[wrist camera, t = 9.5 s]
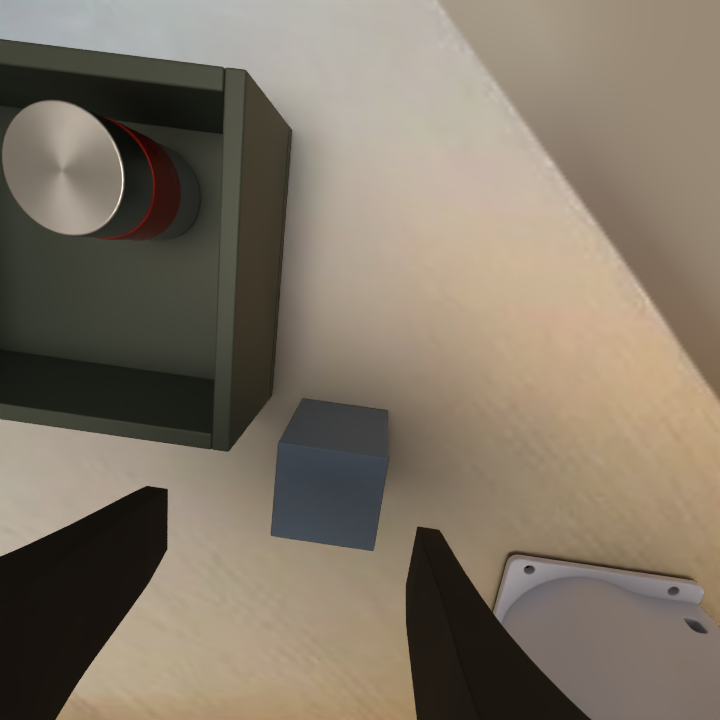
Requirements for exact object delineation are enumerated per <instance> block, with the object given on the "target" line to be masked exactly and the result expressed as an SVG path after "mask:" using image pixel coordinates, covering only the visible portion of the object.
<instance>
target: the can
mask: <svg viewBox="0 0 720 720" xmlns="http://www.w3.org/2000/svg"><path fill="white" fill-rule="evenodd" d="M2 166H3V172H4V176H5V179H6V182H7V185H8V187H9V190H10V191H11V193H12V195H13V197H14V199H15V200H16V202H17V203H18V205H19V206H20V207H21V208H22V210H23V211H24V212H25V213H26V214H27V215H28V216H29V217H30V218H31V219H33V220H34V221H35V222H36V223H38V224H39V225H41V226H42V227H44V228H46V229H48V230H50V231H52V232H54V233H57V234H60V235H65V236H74V237H94V238H99V239H107V240H132V241H141V240H169V239H173V238H176V237H178V236H180V235H182V234H183V233H185V232H186V231H187V230H188V229H189V228H190V227H191V225H192V224H193V223H194V221H195V219H196V217H197V214H198V211H199V207H200V190H199V185H198V181H197V179H196V176H195V174H194V172H193V170H192V168H191V167H190V166H189V164H188V163H187V162H186V161H185V160H184V158H183V157H181V156H180V155H179V154H178V153H176V152H175V151H173V150H172V149H170V148H168V147H165V146H163V145H161V144H159V143H157V142H155V141H154V140H152V139H151V138H149V137H148V136H146V135H144V134H142V133H139V132H137V131H135V130H133V129H131V128H129V127H127V126H125V125H123V124H121V123H119V122H117V121H115V120H112V119H110V118H107V117H103V116H100V115H98V114H96V113H94V112H92V111H90V110H87V109H85V108H83V107H81V106H79V105H77V104H74V103H71V102H69V101H64V100H56V99H49V100H41V101H38V102H34V103H32V104H30V105H28V106H26V107H25V108H23V109H22V110H20V111H19V112H18V113H17V114H16V115H15V117H14V118H13V119H12V121H11V122H10V124H9V126H8V128H7V130H6V133H5V135H4V139H3V144H2Z"/></svg>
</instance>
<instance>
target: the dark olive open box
mask: <svg viewBox="0 0 720 720" xmlns="http://www.w3.org/2000/svg"><path fill="white" fill-rule="evenodd" d="M49 99H56V100H64V101H69V102H71V103H74V104H77V105H79V106H81V107H83V108H85V109H87V110H90V111H92V112H94V113H96V114H98V115H100V116H103V117H107V118H110V119H112V120H115V121H117V122H119V123H121V124H123V125H125V126H127V127H129V128H131V129H133V130H135V131H137V132H139V133H142V134H144V135H146V136H148V137H149V138H151V139H152V140H154V141H155V142H157V143H159V144H161V145H163V146H165V147H168V148H170V149H172V150H173V151H175V152H176V153H178V154H179V155H180V156H181V157H183V158H184V160H185V161H186V162H187V163H188V164H189V166H190V167H191V168H192V170H193V172H194V174H195V176H196V179H197V181H198V185H199V190H200V207H199V211H198V214H197V217H196V219H195V221H194V223H193V224H192V225H191V227H190V228H189V229H188V230H187V231H186V232H185V233H183V234H182V235H180V236H178V237H176V238H173V239H169V240H141V241H132V240H107V239H99V238H94V237H74V236H65V235H60V234H57V233H54V232H52V231H50V230H48V229H46V228H44V227H42V226H41V225H39V224H38V223H36V222H35V221H34V220H33V219H31V218H30V217H29V216H28V215H27V214H26V213H25V212H24V211H23V210H22V208H21V207H20V206H19V205H18V203H17V202H16V200H15V199H14V197H13V195H12V193H11V191H10V190H9V187H8V185H7V182H6V179H5V176H4V172H3V166H2V144H3V139H4V135H5V133H6V130H7V128H8V126H9V124H10V122H11V121H12V119H13V118H14V117H15V115H16V114H17V113H18V112H19V111H20V110H22V109H23V108H25V107H26V106H28V105H30V104H32V103H34V102H38V101H41V100H49ZM291 135H292V129H291V128H290V127H289V126H288V124H287V123H286V122H285V120H284V119H283V118H282V116H281V115H280V114H279V112H278V111H277V110H276V109H275V107H274V106H273V105H272V103H271V102H270V101H269V99H268V98H267V97H266V95H265V94H264V93H263V92H262V90H261V89H260V88H259V86H258V85H257V84H256V82H255V81H254V80H253V78H252V77H251V76H250V75H249V73H248V72H247V71H246V70H243V69H235V68H226V69H225V68H223V67H219V66H211V65H203V64H195V63H187V62H179V61H171V60H163V59H155V58H147V57H139V56H131V55H123V54H115V53H107V52H99V51H91V50H83V49H75V48H67V47H59V46H51V45H43V44H35V43H27V42H19V41H11V40H3V39H0V419H4V420H11V421H18V422H25V423H32V424H39V425H46V426H52V427H59V428H66V429H73V430H80V431H87V432H94V433H101V434H108V435H115V436H122V437H129V438H135V439H142V440H149V441H156V442H163V443H170V444H177V445H184V446H191V447H198V448H205V449H213V450H219V451H226V452H227V451H229V450H230V449H231V448H232V447H233V445H234V444H235V443H236V441H237V440H238V439H239V437H240V436H241V435H242V434H243V432H244V431H245V430H246V428H247V427H248V426H249V424H250V423H251V422H252V421H253V419H254V418H255V417H256V415H257V414H258V413H259V411H260V410H261V409H262V408H263V406H264V405H265V404H266V402H267V401H268V400H269V399H270V397H271V396H272V389H273V375H274V362H275V349H276V335H277V322H278V309H279V295H280V282H281V268H282V255H283V242H284V228H285V215H286V202H287V188H288V175H289V162H290V148H291Z"/></svg>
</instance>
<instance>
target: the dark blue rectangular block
mask: <svg viewBox="0 0 720 720" xmlns="http://www.w3.org/2000/svg"><path fill="white" fill-rule="evenodd" d="M388 461H389V446H388V411H387V410H380V409H373V408H366V407H359V406H351V405H344V404H337V403H330V402H323V401H316V400H309V399H302V400H301V402H300V404H299V406H298V408H297V410H296V411H295V413H294V415H293V417H292V419H291V421H290V422H289V424H288V426H287V428H286V430H285V432H284V433H283V435H282V437H281V439H280V441H279V443H278V452H277V464H276V476H275V488H274V500H273V513H272V525H271V536H275V537H281V538H288V539H295V540H302V541H308V542H315V543H322V544H329V545H335V546H342V547H349V548H356V549H362V550H369V551H373V550H374V546H375V540H376V534H377V528H378V522H379V516H380V510H381V504H382V498H383V491H384V485H385V479H386V473H387V467H388Z"/></svg>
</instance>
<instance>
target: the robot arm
mask: <svg viewBox="0 0 720 720" xmlns="http://www.w3.org/2000/svg"><path fill="white" fill-rule="evenodd" d="M167 513H168V489H163V488H157V487H150V486H146V487H144V488H141V489H139V490H137V491H135V492H133V493H131V494H129V495H127V496H125V497H123V498H121V499H119V500H117V501H115V502H114V503H112V504H110V505H108V506H106V507H104V508H102V509H100V510H98V511H96V512H94V513H92V514H90V515H88V516H86V517H84V518H83V519H81V520H79V521H77V522H75V523H73V524H71V525H69V526H67V527H64V528H62V529H60V530H58V531H56V532H54V533H52V534H50V535H48V536H45V537H43V538H41V539H39V540H37V541H35V542H33V543H31V544H28V545H26V546H24V547H22V548H19V549H17V550H15V551H13V552H10V553H8V554H5V555H3V556H1V557H0V720H55V719H56V718H57V716H58V714H59V713H60V711H61V709H62V708H63V706H64V705H65V703H66V701H67V700H68V698H69V696H70V695H71V693H72V691H73V690H74V688H75V686H76V685H77V683H78V682H79V680H80V679H81V677H82V676H83V674H84V673H85V671H86V670H87V668H88V667H89V666H90V664H91V663H92V661H93V660H94V659H95V657H96V656H97V654H98V653H99V652H100V650H101V649H102V648H103V646H104V645H105V643H106V642H107V641H108V639H109V638H110V636H111V635H112V634H113V632H114V631H115V630H116V628H117V627H118V625H119V624H120V623H121V621H122V620H123V618H124V617H125V616H126V614H127V613H128V612H129V610H130V609H131V607H132V606H133V605H134V603H135V602H136V600H137V599H138V597H139V596H140V595H141V593H142V592H143V590H144V589H145V588H146V586H147V585H148V583H149V581H150V580H151V578H152V576H153V574H154V573H155V571H156V569H157V567H158V565H159V564H160V562H161V560H162V558H163V556H164V554H165V552H166V551H167ZM528 565H531V567H529V568H525V567H526V566H528ZM671 587H672V588H671ZM669 588H670V589H669ZM703 595H704V589H703V588H702V587H701V586H700V585H699V584H698V583H697V582H696V581H693V580H687V579H680V578H674V577H667V576H660V575H653V574H647V573H640V572H633V571H626V570H619V569H613V568H606V567H599V566H592V565H586V564H579V563H572V562H565V561H559V560H552V559H545V558H538V557H531V556H525V555H513V556H511V557H510V558H508V560H507V563H506V567H505V570H504V574H503V578H502V581H501V585H500V589H499V592H498V596H497V600H496V603H495V607H494V611H493V612H492V611H491V610H490V608H489V607H488V606H487V604H486V603H485V601H484V600H483V598H482V597H481V596H480V594H479V593H478V591H477V590H476V588H475V587H474V585H473V584H472V582H471V581H470V579H469V578H468V576H467V575H466V573H465V571H464V570H463V568H462V567H461V565H460V563H459V562H458V560H457V559H456V557H455V555H454V554H453V552H452V550H451V549H450V547H449V545H448V543H447V542H446V540H445V538H444V536H443V535H442V533H441V532H440V530H437V529H431V528H424V527H417V531H416V536H415V542H414V547H413V552H412V557H411V562H410V567H409V572H408V577H407V582H406V627H407V636H408V645H409V654H410V663H411V671H412V680H413V689H414V697H415V706H416V715H417V720H720V628H719V627H718V626H717V624H716V623H715V622H714V621H713V620H712V619H711V618H710V617H709V615H708V614H707V613H706V612H705V611H704V610H703V609H702V608H701V606H700V602H701V600H702V598H703Z"/></svg>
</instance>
